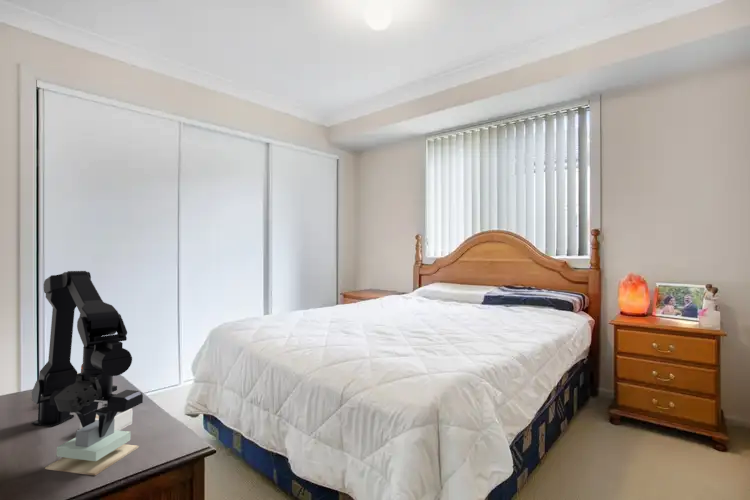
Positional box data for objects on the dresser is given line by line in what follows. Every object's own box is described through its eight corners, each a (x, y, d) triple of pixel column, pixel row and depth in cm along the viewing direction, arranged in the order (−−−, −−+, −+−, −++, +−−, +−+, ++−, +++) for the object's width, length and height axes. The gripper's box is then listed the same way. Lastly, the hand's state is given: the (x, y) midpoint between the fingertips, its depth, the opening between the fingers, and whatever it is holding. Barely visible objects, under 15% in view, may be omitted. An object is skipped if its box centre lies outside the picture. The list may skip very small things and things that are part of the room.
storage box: (79, 433, 98) (80, 418, 98) (105, 420, 106) (106, 406, 106) (107, 437, 97) (108, 420, 97) (132, 423, 105) (132, 408, 105)
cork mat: (45, 469, 82) (45, 467, 82) (93, 442, 94) (93, 440, 94) (95, 475, 81) (95, 473, 81) (138, 447, 92) (138, 445, 92)
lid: (56, 456, 83) (57, 432, 84) (94, 436, 93) (95, 414, 93) (95, 461, 82) (96, 436, 82) (130, 440, 92) (131, 418, 92)
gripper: (25, 373, 81) (22, 449, 81) (105, 380, 78) (102, 459, 78) (74, 359, 92) (71, 426, 92) (145, 365, 89) (143, 434, 89)
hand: (95, 436), depth 87 cm, fingers closed on lid, 3 cm apart
